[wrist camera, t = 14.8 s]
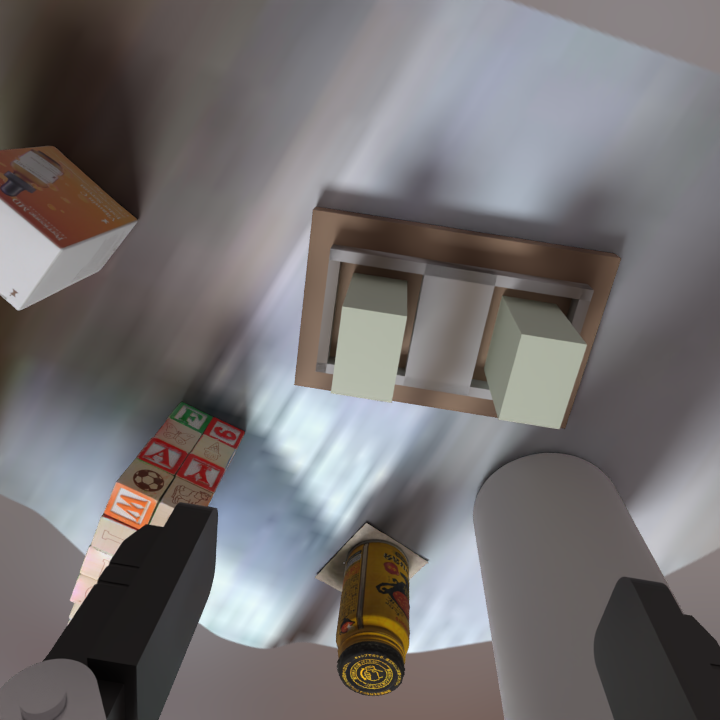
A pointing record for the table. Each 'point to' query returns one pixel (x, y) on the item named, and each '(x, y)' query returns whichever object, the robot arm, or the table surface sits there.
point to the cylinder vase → (553, 580)
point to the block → (532, 362)
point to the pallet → (450, 251)
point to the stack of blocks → (160, 485)
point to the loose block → (370, 337)
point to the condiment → (372, 609)
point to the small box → (52, 224)
